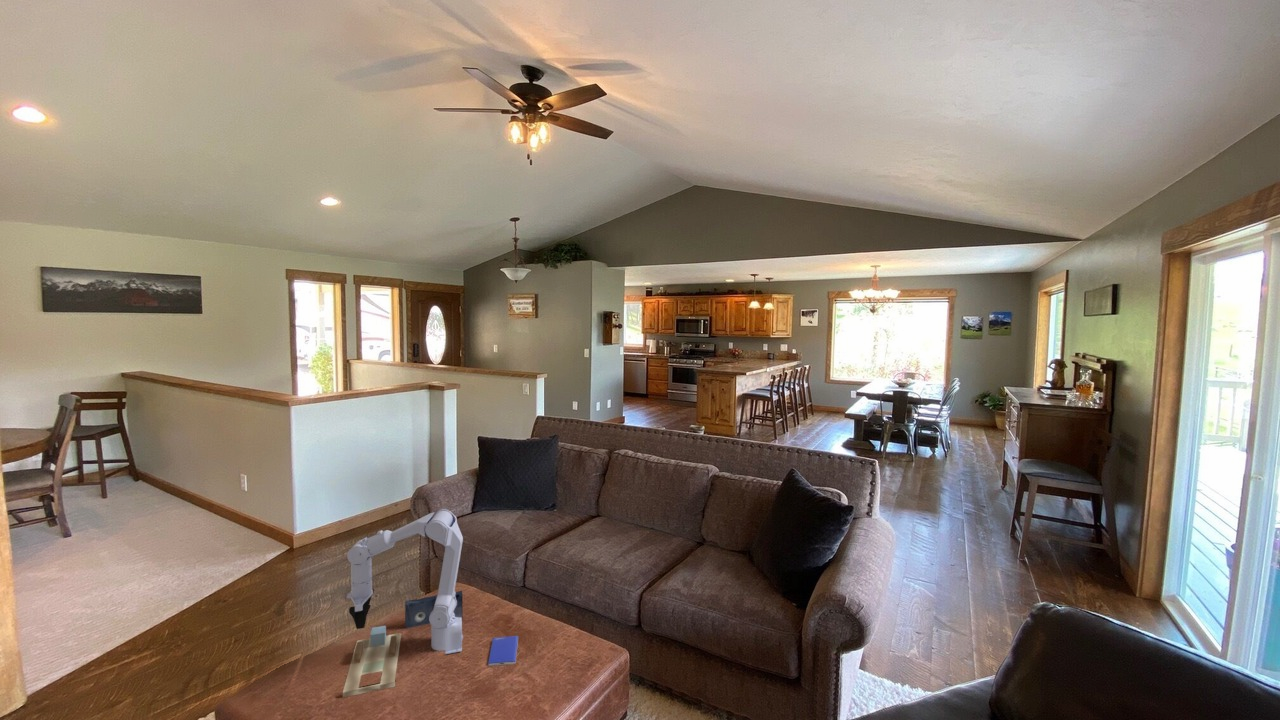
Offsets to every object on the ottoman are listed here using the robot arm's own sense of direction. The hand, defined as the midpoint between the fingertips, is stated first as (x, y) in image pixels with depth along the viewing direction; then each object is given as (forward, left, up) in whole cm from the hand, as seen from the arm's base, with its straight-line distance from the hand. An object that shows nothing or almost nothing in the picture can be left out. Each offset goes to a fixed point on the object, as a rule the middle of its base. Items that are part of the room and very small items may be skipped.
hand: (362, 620), depth 160 cm
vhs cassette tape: (-21, -8, -10) cm, 24 cm away
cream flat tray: (-4, +8, -10) cm, 14 cm away
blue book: (-42, +14, -11) cm, 45 cm away
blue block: (-4, -1, -8) cm, 9 cm away
